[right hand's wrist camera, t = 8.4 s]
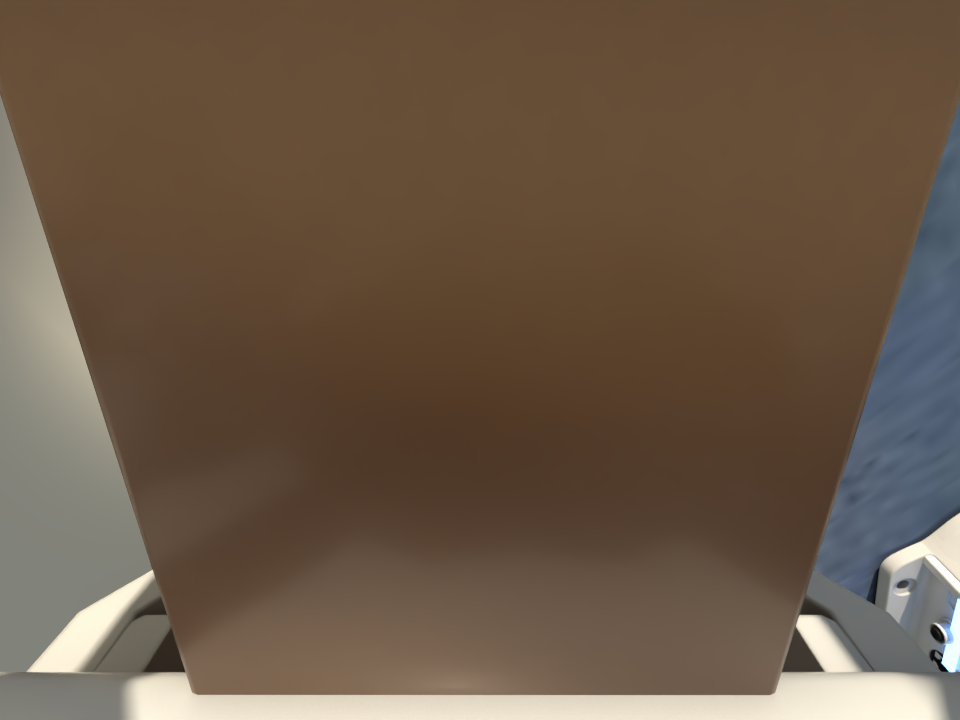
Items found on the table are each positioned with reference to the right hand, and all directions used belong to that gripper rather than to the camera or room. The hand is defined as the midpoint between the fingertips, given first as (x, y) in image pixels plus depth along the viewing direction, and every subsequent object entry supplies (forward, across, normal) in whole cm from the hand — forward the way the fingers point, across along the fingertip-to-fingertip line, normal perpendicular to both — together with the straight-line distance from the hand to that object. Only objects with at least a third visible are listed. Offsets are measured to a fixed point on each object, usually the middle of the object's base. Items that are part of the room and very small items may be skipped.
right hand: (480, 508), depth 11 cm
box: (+4, 0, -8) cm, 9 cm away
